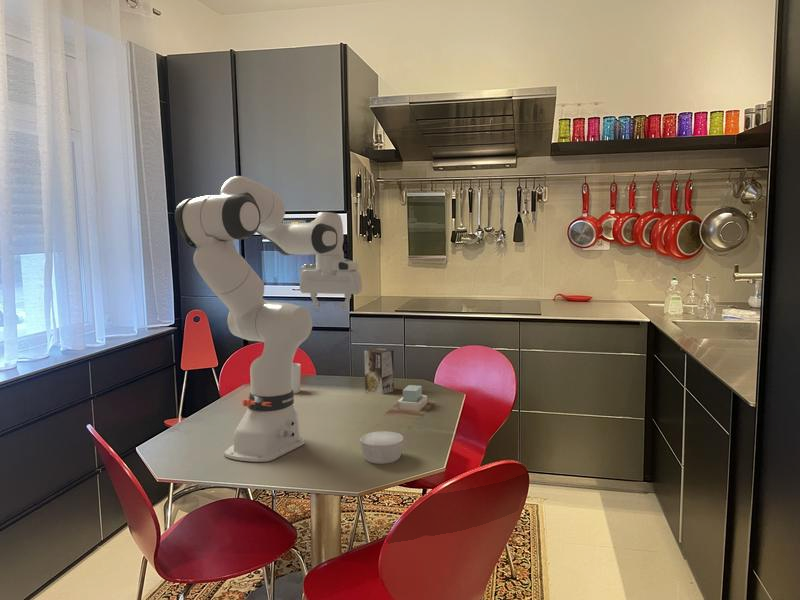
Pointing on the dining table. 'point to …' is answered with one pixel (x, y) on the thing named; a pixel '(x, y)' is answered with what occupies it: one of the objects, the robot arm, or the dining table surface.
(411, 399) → the keyed plug
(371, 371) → the coffee box
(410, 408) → the socket
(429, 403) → the walnut board
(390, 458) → the ramekin
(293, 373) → the drinking glass
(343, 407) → the dining table surface
